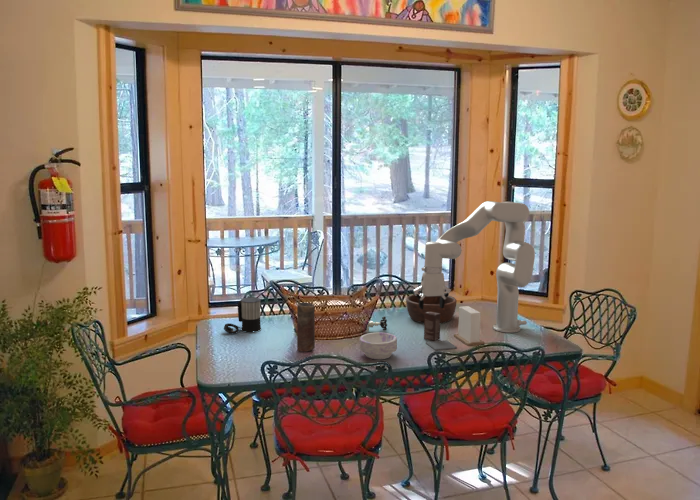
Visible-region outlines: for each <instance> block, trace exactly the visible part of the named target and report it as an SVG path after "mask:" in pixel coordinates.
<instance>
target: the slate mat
mask: <svg viewBox="0 0 700 500" xmlns="http://www.w3.org/2000/svg"><path fill="white" fill-rule="evenodd" d="M425 344H426V345H427V346H428V347H429V348H431V349H433V351H446V350H455V349H457V346H456V345H455V344H452V343H451V341H449V340H447V339H446V340H437V341H425Z"/></svg>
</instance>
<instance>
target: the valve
mask: <svg viewBox="0 0 700 500" xmlns="http://www.w3.org/2000/svg"><path fill="white" fill-rule="evenodd" d="M387 321H388V319H387V317H386V316H383V317H381V320H380V321H379V322H378V321H375V322H374V321H373V320H369V321H368V322H369V323H368V325H367V330H366V331H367V332H366V333H369V331H370V328H374V326H375V327H377V326H380V328H382V330H383V331H386V330H387V329H388V328H387V327H388V323H387Z"/></svg>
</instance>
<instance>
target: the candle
mask: <svg viewBox="0 0 700 500" xmlns="http://www.w3.org/2000/svg"><path fill="white" fill-rule="evenodd" d="M296 306H297V307H296V308H297V314H296V315H297V317H296V319H297V326H296V327H297V328H296V329H297V333H296V335H297V338H296V339H297V341H296V342H297V343H296V345H297V346H296V347H297V351H298V352H305V353H306V352H311V351H314V349H315V347H316V344H315V343H316V340H315V339H316V338H315V337H316V335H315V328H316V327H315V326H316V324H315V320H316V319H315V304H313V303H309V302H306V301H305V302H298V303H297V305H296Z"/></svg>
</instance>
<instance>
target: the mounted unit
mask: <svg viewBox="0 0 700 500" xmlns="http://www.w3.org/2000/svg"><path fill="white" fill-rule="evenodd" d="M481 315H482V314H481V312H480V311H478V310H477V309H474V308H473V307H470V306H469V305H467V306H464V305H463V306H459V307H458V331H457V333H456V334H453V338H455V339H456V340H458V341H460V342H461V343H462V344H464V345H465V346H467V347H469V346H470V347H471V346H482V345H481V344H484V345H485V341H483V340H482V339H481V317H482V316H481Z"/></svg>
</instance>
